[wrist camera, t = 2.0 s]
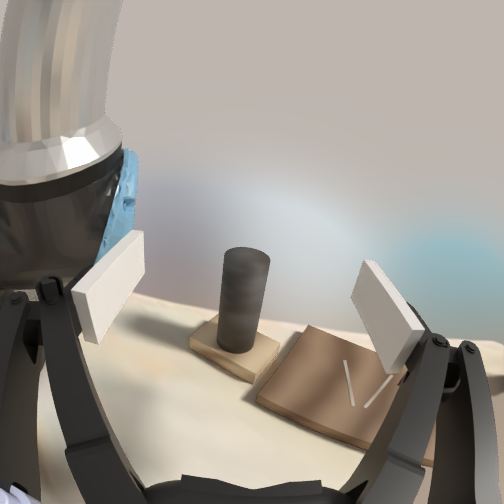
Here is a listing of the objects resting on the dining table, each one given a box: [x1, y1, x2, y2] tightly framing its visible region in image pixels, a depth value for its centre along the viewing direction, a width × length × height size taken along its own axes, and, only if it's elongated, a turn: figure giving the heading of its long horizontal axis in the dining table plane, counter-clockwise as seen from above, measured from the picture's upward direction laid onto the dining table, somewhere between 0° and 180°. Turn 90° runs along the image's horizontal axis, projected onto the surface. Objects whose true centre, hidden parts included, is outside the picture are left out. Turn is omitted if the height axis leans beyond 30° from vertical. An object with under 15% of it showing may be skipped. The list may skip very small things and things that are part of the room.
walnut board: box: [256, 325, 436, 468], centre depth 26 cm, size 24×14×2 cm, turn 59°
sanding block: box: [189, 247, 280, 384], centre depth 29 cm, size 9×6×13 cm, turn 59°
